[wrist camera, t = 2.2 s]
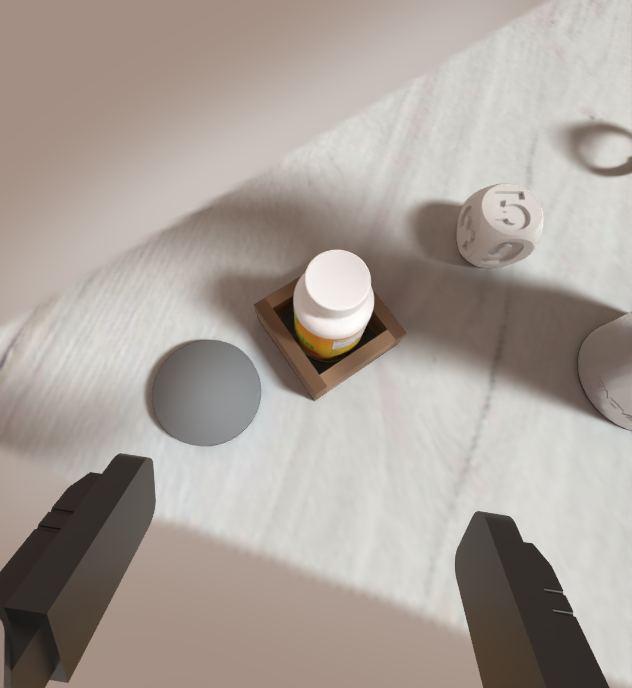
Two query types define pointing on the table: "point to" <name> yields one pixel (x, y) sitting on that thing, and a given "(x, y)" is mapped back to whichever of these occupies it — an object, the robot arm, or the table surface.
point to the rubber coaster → (206, 393)
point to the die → (499, 226)
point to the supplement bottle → (332, 305)
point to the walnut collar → (317, 384)
